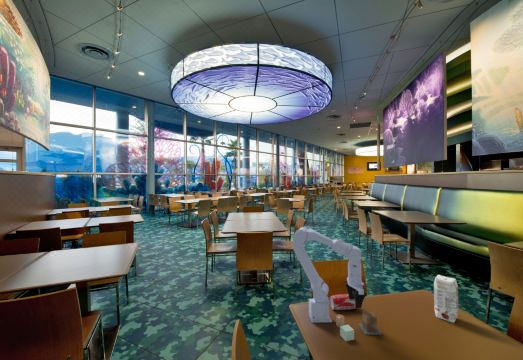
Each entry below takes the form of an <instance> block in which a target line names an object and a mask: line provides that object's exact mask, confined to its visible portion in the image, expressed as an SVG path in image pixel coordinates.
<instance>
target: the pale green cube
mask: <svg viewBox="0 0 523 360" xmlns="http://www.w3.org/2000/svg"><path fill="white" fill-rule="evenodd" d="M339 336H340V337H341V338H342V339H343V340H344V341H345V342H350V341H354V340H355V329H353V328H352V327H351V326H350V324H344V325H343V326H340V328H339Z"/></svg>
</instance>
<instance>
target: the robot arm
mask: <svg viewBox="0 0 523 360" xmlns="http://www.w3.org/2000/svg"><path fill="white" fill-rule="evenodd" d="M292 239H293V240H292V249H293V252H294V254H295V256H296V258H297V260H298V261H299V263H300V265H301V267H302V269H303V271H304V273H305V275H306V277H307V278H308V281H309V282H310V289H311V291H312V296H313V298H308V316H309V319H310V321H311V323H333V320H332V317H330V297H328V294H329V291H330V288H329V285H328V284H327V283H326V282H325V281H324V279H323V278H322V277H321V276H319V273H318V271H317V269H316V268H315V266H314V264H313V262H312V260H311V258H310V257H309V254H308V252H307V251H306V249H305V246H306V243H307V242H311V241H316V242H318V243H321V244H323V245H326V246H328V247H329V248H331V250H332V251H333V252H335V253H338V254H339V255H342V256H344V257H346V258H348V262H347V273H348V274H347V277H346V281H347V282H344V285H345V288H346V290H347V291H346V292H347V294H348V295H349V299H350V300H354V299H355V305H356V308H357V309H362V306H363V302H364V299H365V298H366V296H367V293H366V292H365V290H364V288H363V286H365V283H364V282H363V280H362V251H361V249H360V248H359V247H358V246H357V245H353V244H351V243H350V244H349V243H347V242H344V241H343V239H341V238H339V239H332V238H330V237H328V236H326V235H324V234H322V233H320V232H317V231H316V230H314V229H312V228H309V227H307V226H301V227H300V228H298V229H297V230H295V231H294V233H293V236H292Z"/></svg>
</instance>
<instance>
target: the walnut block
mask: <svg viewBox="0 0 523 360" xmlns="http://www.w3.org/2000/svg"><path fill="white" fill-rule="evenodd" d="M361 313H362V314H361V317H362V318H361V319H362V322H361V324H362V325H363V327H364V328H365V330H366V331H373V332H377V328H378V317H377V316H376V315H375V314H374V313H373V311H361Z"/></svg>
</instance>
